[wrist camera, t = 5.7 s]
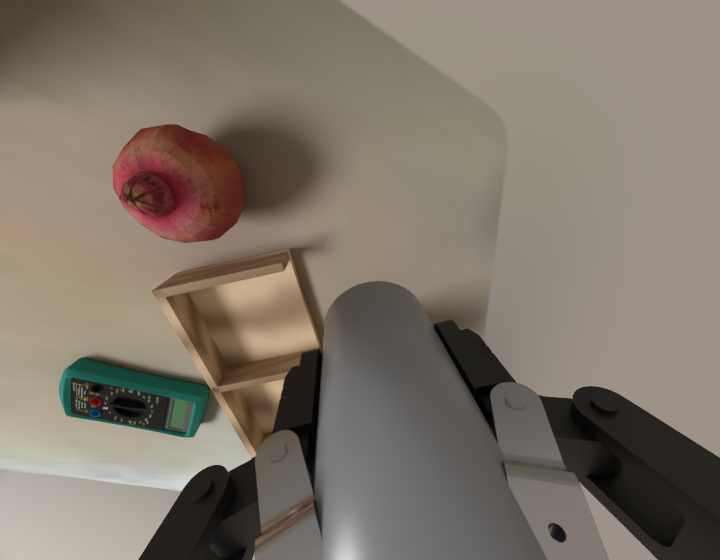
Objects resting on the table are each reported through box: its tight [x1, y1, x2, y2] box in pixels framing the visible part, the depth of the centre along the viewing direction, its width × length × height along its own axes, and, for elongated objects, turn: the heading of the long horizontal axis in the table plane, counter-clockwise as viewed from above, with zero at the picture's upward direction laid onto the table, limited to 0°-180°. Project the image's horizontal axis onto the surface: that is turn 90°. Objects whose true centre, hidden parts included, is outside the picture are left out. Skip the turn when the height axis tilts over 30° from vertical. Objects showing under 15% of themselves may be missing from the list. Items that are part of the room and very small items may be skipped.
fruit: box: [113, 125, 244, 243], centre depth 20 cm, size 8×8×10 cm
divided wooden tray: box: [152, 249, 323, 459], centre depth 30 cm, size 24×12×4 cm, turn 11°
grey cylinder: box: [313, 281, 547, 560], centre depth 9 cm, size 5×5×10 cm
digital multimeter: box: [59, 358, 209, 438], centre depth 32 cm, size 7×15×3 cm, turn 68°
